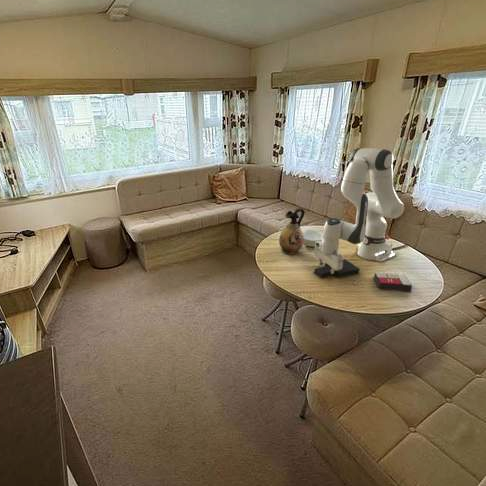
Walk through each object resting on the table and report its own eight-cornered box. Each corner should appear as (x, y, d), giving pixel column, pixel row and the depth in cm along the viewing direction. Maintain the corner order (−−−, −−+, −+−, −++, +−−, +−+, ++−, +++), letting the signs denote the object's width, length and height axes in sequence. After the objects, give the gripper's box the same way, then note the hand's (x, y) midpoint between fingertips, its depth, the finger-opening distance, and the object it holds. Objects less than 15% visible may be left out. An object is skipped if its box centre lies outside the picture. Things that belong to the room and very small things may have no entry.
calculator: (374, 271, 164) (405, 273, 161) (373, 278, 166) (403, 280, 163) (380, 282, 155) (412, 284, 151) (378, 289, 157) (410, 291, 153)
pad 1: (332, 268, 175) (333, 264, 174) (339, 274, 170) (340, 269, 169) (314, 273, 172) (314, 268, 170) (320, 278, 167) (321, 273, 165)
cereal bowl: (303, 237, 215) (304, 228, 212) (327, 242, 206) (328, 233, 203) (294, 245, 203) (295, 236, 200) (319, 252, 194) (320, 242, 191)
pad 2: (344, 263, 181) (344, 259, 179) (358, 273, 170) (359, 268, 169) (324, 267, 177) (325, 263, 175) (338, 277, 167) (339, 273, 165)
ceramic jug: (285, 258, 188) (289, 213, 174) (274, 247, 201) (277, 205, 188) (309, 254, 192) (315, 210, 178) (296, 244, 205) (301, 202, 192)
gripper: (347, 254, 155) (343, 277, 161) (322, 239, 172) (319, 259, 178) (337, 257, 153) (333, 279, 159) (313, 241, 170) (310, 261, 177)
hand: (326, 269), depth 169 cm, fingers open, 8 cm apart
